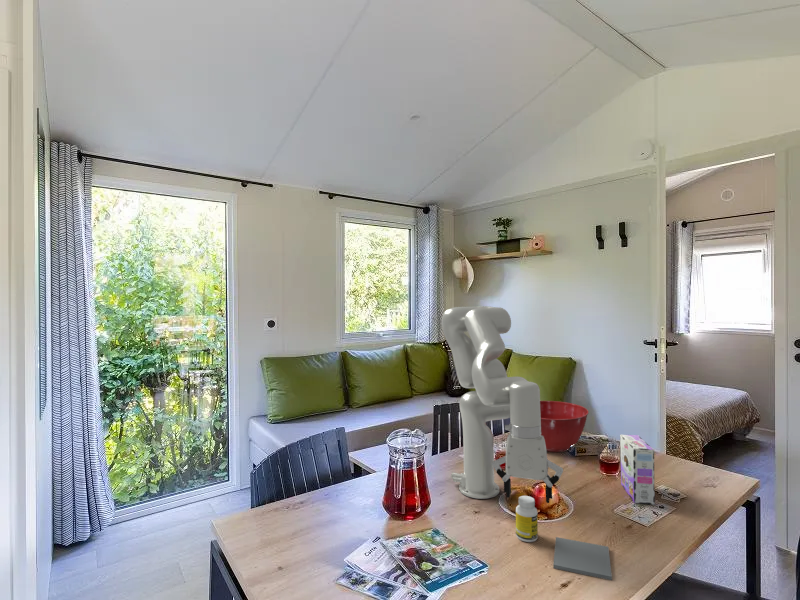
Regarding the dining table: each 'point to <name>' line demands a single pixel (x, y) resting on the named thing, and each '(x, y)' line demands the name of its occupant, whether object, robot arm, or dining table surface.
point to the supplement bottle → (526, 519)
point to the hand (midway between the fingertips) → (527, 498)
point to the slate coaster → (582, 558)
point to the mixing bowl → (561, 424)
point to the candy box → (637, 469)
